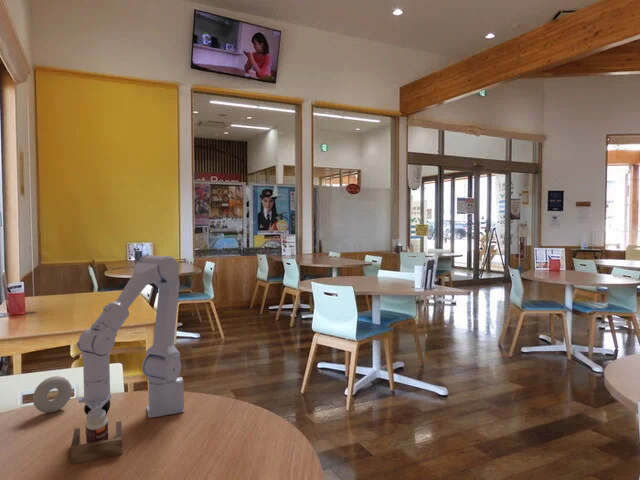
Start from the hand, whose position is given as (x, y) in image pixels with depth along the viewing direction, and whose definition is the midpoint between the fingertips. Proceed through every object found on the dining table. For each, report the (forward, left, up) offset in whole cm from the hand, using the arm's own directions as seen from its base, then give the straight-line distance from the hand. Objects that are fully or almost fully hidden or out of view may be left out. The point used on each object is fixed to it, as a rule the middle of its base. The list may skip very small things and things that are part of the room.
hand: (98, 433), depth 111 cm
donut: (+12, -24, -2) cm, 27 cm away
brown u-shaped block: (0, +4, -2) cm, 4 cm away
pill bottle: (0, +2, -1) cm, 3 cm away
